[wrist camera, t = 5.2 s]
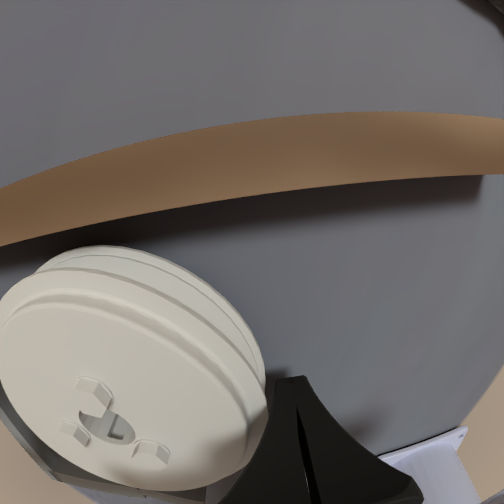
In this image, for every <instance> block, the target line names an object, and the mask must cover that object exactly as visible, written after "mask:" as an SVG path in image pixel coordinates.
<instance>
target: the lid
mask: <svg viewBox="0 0 504 504" xmlns="http://www.w3.org/2000/svg"><path fill="white" fill-rule="evenodd" d="M0 380H1V383H2V386H3V388H4V391H5V393H6V395H7V397H8V399H9V401H10V402H11V404H12V405H13V407H14V409H15V410H16V412H17V413H18V414H19V416H20V417H21V418H22V420H23V421H24V422H25V423H26V425H27V426H28V427H29V428H30V429H31V430H32V431H33V432H34V433H35V434H36V435H37V436H38V437H39V438H40V439H41V440H42V441H43V442H44V443H45V444H47V445H48V446H49V447H50V448H52V449H53V450H54V451H55V452H57V453H58V454H59V455H61V456H62V457H64V458H65V459H67V460H68V461H70V462H72V463H73V464H75V465H77V466H78V467H80V468H82V469H84V470H86V471H88V472H90V473H92V474H94V475H97V476H99V477H101V478H104V479H107V480H109V481H112V482H115V483H118V484H122V485H126V486H130V487H134V488H140V489H145V490H155V491H182V490H190V489H195V488H200V487H204V486H206V485H209V484H212V483H215V482H217V481H218V480H220V479H222V478H225V477H227V476H230V475H232V474H233V473H235V472H237V471H238V470H240V469H242V468H243V467H244V466H245V465H247V464H248V463H249V461H250V460H251V458H252V456H253V454H254V452H255V450H256V448H257V446H258V444H259V442H260V440H261V437H262V435H263V432H264V430H265V427H266V424H267V421H268V414H269V413H268V406H267V400H266V396H265V383H266V379H265V369H264V362H263V358H262V355H261V351H260V348H259V346H258V344H257V342H256V339H255V337H254V335H253V333H252V331H251V330H250V328H249V327H248V325H247V324H246V322H245V321H244V319H243V318H242V317H241V315H240V314H239V313H238V312H237V311H236V309H235V308H234V307H233V306H232V305H231V304H230V303H229V302H228V301H227V300H226V298H224V297H223V296H222V295H221V294H220V293H219V292H217V291H216V290H215V289H214V288H213V287H212V286H210V285H209V284H208V283H207V282H205V281H204V280H202V279H201V278H199V277H198V276H196V275H195V274H193V273H192V272H190V271H189V270H187V269H185V268H183V267H181V266H179V265H177V264H175V263H173V262H171V261H169V260H167V259H164V258H162V257H159V256H156V255H153V254H151V253H148V252H145V251H141V250H136V249H132V248H127V247H123V246H109V245H96V246H84V247H80V248H76V249H72V250H68V251H66V252H64V253H61V254H59V255H57V256H55V257H53V258H52V259H50V260H49V261H48V262H46V263H45V264H44V265H42V266H41V267H40V268H39V269H38V270H37V271H36V272H35V273H34V274H32V275H30V276H28V277H26V278H24V279H22V280H21V281H19V282H18V283H17V284H15V285H14V286H13V287H12V288H11V289H10V290H9V291H8V292H7V293H6V294H5V295H4V296H3V298H2V299H1V301H0Z"/></svg>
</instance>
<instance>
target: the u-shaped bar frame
mask: <svg viewBox="0 0 504 504" xmlns="http://www.w3.org/2000/svg"><path fill="white" fill-rule="evenodd" d="M485 174H504V119H497V118H489V117H481V116H471V115H460V114H447V113H429V112H345V113H327V114H312V115H300V116H289V117H280V118H271V119H263V120H255V121H247V122H240V123H234V124H227V125H221V126H215V127H209V128H204V129H198V130H193V131H188V132H183V133H178V134H174V135H169V136H164V137H160V138H156V139H151V140H147V141H143V142H139V143H135V144H131V145H127V146H123V147H120V148H116V149H112V150H109V151H105V152H102V153H98V154H95V155H92V156H88V157H85V158H82V159H79V160H76V161H73V162H70V163H67V164H64V165H61V166H58V167H55V168H52V169H49V170H46V171H44V172H41V173H38V174H35V175H33V176H30V177H28V178H25V179H22V180H20V181H17V182H15V183H13V184H10V185H8V186H5V187H3V188H1V189H0V246H3V245H7V244H11V243H15V242H19V241H23V240H26V239H30V238H34V237H38V236H43V235H47V234H51V233H55V232H59V231H64V230H68V229H72V228H77V227H81V226H86V225H90V224H95V223H100V222H105V221H109V220H114V219H119V218H124V217H129V216H134V215H139V214H145V213H150V212H155V211H161V210H166V209H172V208H177V207H183V206H189V205H195V204H201V203H207V202H213V201H219V200H226V199H232V198H239V197H246V196H253V195H260V194H267V193H274V192H282V191H290V190H298V189H306V188H314V187H323V186H332V185H342V184H351V183H362V182H372V181H384V180H396V179H409V178H424V177H440V176H460V175H485ZM0 419H1V421H2V422H3V423H4V425H5V426H6V427H7V428H8V430H9V431H10V432H11V434H12V435H13V436H14V437H15V439H16V440H17V441H18V442H19V443H20V445H21V446H22V447H23V448H24V449H25V451H26V452H27V453H28V454H29V455H30V456H31V457H32V458H33V460H34V461H35V462H36V463H37V464H38V465H39V466H40V467H41V468H42V469H43V470H44V471H45V473H46V474H47V475H48V476H49V477H50V478H51V479H53V480H57V481H60V482H64V483H68V484H71V485H75V486H80V487H84V488H88V489H93V490H97V491H102V492H108V493H113V494H119V495H125V496H132V497H140V498H146V496H149V497H152V498H156V499H160V500H164V501H168V502H172V503H176V504H204V503H205V495H206V486H204V487H200V488H195V489H190V490H182V491H155V490H145V489H140V488H134V487H130V486H126V485H122V484H118V483H115V482H112V481H109V480H107V479H104V478H101V477H99V476H97V475H94V474H92V473H90V472H88V471H86V470H84V469H82V468H80V467H78V466H77V465H75V464H73V463H72V462H70V461H68V460H67V459H65V458H64V457H62V456H61V455H59V454H58V453H57V452H55V451H54V450H53V449H52V448H50V447H49V446H48V445H47V444H45V443H44V442H43V441H42V440H41V439H40V438H39V437H38V436H37V435H36V434H35V433H34V432H33V431H32V430H31V429H30V428H29V427H28V426H27V425H26V423H25V422H24V421H23V420H22V418H21V417H20V416H19V414H18V413H17V412H16V410H15V409H14V407H13V405H12V404H11V402H10V401H9V399H8V397H7V395H6V393H5V391H4V388H3V386H2V383H1V380H0Z"/></svg>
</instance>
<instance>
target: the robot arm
mask: <svg viewBox="0 0 504 504" xmlns="http://www.w3.org/2000/svg"><path fill="white" fill-rule="evenodd" d="M467 430H468V428H467V426H466V425H463V426H461V427H458V428H456V429H454V430H452V431H449V432H447V433H444V434H442V435H439V436H437V437H434V438H432V439H429V440H426V441H424V442H421V443H418V444H415V445H412V446H410V447H407V448H404V449H400V450H397V451H394V452H391V453H388V454H384V455H381V456H378V457H377V456H375V455H374V454H372V453H371V452H370V451H368V450H367V449H365V448H364V447H363V446H362V445H360V444H359V443H358V442H357V441H356V440H355V439H354V438H352V437H351V436H350V435H349V434H348V433H347V432H346V431H345V430H344V429H343V428H342V427H341V426H340V425H339V424H338V422H337V421H336V420H335V419H334V418H333V417H332V416H331V414H330V413H329V412H328V411H327V409H326V408H325V407H324V405H323V404H322V403H321V401H320V400H319V398H318V397H317V395H316V394H315V392H314V391H313V389H312V387H311V386H310V384H309V382H308V380H307V377H306V376H304V375H302V376H295V377H289V378H282V379H277V380H276V381H275V393H274V399H273V404H272V408H271V411H270V415H269V418H268V421H267V424H266V427H265V430H264V432H263V435H262V437H261V440H260V442H259V444H258V446H257V448H256V450H255V452H254V454H253V456H252V458H251V460H250V461H249V463H248V465H247V467H246V468H245V470H244V471H243V473H242V475H241V476H240V477H239V479H238V480H237V481H236V483H235V484H234V486H233V487H232V488H231V490H230V491H229V492H228V493H227V495H226V496H225V497H224V498H223V499H222V500H221V501H220V502H219V503H218V504H504V489H503V490H501V491H500V492H498V493H497V494H495V495H493V496H492V497H490V498H488V499H487V500H485V501H483V502H482V501H481V499H480V498H479V495H478V493H477V491H476V489H475V487H474V485H473V483H472V481H471V480H470V478H469V476H468V474H467V472H466V470H465V468H464V466H463V464H462V462H461V461H460V459H459V457H458V455H457V453H456V451H457V449H458V447H459V445H460V444H461V442H462V440H463V438H464V436H465V434H466V432H467ZM304 469H305V471H304ZM305 473H306V476H305ZM306 477H307V481H306ZM307 482H308V486H307ZM308 489H309V491H308Z"/></svg>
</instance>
